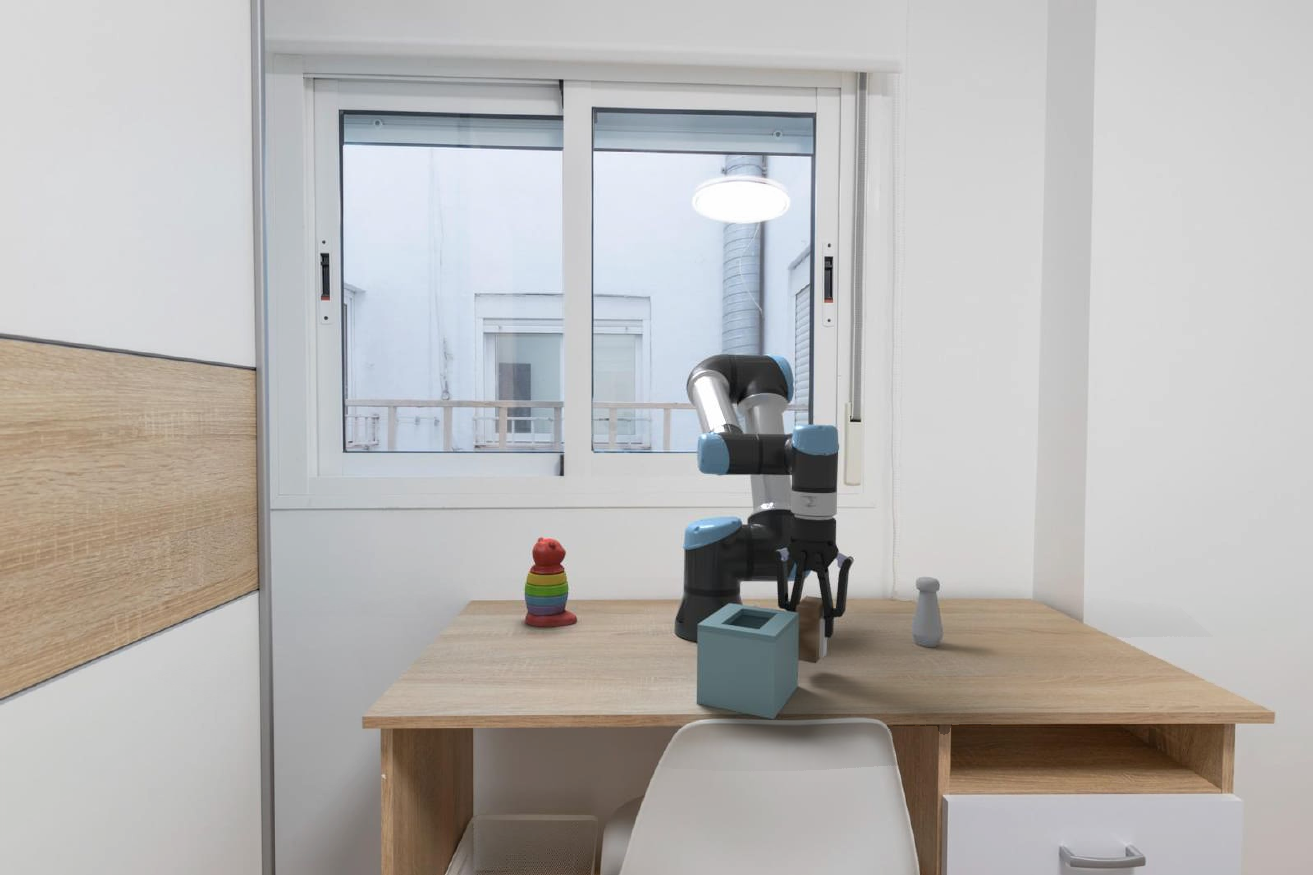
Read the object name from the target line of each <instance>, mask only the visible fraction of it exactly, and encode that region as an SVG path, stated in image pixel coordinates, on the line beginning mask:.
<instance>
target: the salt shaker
mask: <svg viewBox="0 0 1313 875" xmlns="http://www.w3.org/2000/svg"><path fill="white" fill-rule="evenodd" d="M940 584H941V583H940V581H939V580H938V579H937V578H935V577H930V576H921V577H918V578H917V579H916V581H915V587H916V590H918V591H919V592H918V597H917V601H916V606H915V610H914V614H913V618H912V619H913V620H912V624H911V628H910V631H911V634H912V637H913V638H914V642H915V644H916V645H917V646H921V647H925V648H936V647H938V646H939V645H940V643H941V640H942V639H943V636H944V631H943V630H944V629H943V624H942V619H941V613H940V608H939V607H940V606H939V600H938V595H937V594H938V593H937V592H939V591H940V588H941V587H940V586H941V585H940Z"/></svg>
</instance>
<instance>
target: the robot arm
mask: <svg viewBox="0 0 1313 875" xmlns="http://www.w3.org/2000/svg"><path fill="white" fill-rule="evenodd" d="M794 383H795V381H794V374H793V371H792V367H791V364H790V362H789V361H788V360H787V359H786V358H785V357H784V356H781V355H773V354H768V353H766V354H762V355H761V354H760V355H758V354H728V353H722V354H721V353H720V354H716V355H711V356H710V357H707V358H705V359H704V360H702V361H701V362H699V363H698V364H696V366H695V367H694V368H693V369H692V370H691V372H690V373H689V375H688V378H687V380H686V385H685V386H686V394H687V397H688V400H689V402H690V404H692V405H693V406H694V407H695V410H696V414H697V417H698V421H699V424H700V428H701V431H702V434H700V435H699V437H698V439H697V450H696V452H697V453H696V460H697V468H698V471H700V473H702V474H705V475H716V476H718V477H719V476H750V487H751V488H750V489H751V498H752V508H753V510H752V512H751V513H750V515H749V516H748V517H747V522H746V523H747V524H743V521H742V520H741V518H740V517H737V516H716V517H709V518H708V517H707V518H703V519H699V520H695V521H692V522H690V523H689V524H688V525H687V526H686V527H685V530H684V540H683V546H682V548H683V551H684V552H683V556H684V558H683V562H684V563H683V594H682V598H681V600H680V604H679V606H678V609H677V612H676V616H675V619H674V634H676V635H677V636H679V637H680V638H682V639H684V640H688V641H691V642H696V643H697V635H698V624H699V623H701V622H702V621H703V620H705V619H706V618H708V617H709V616H711V615H712V614H714V613H715V612H717V611H718V610H720V609H721V608H723V607H724V606H726V605H727V604H729V603H731V604H739V605H744V604H743V600H742V598H741V582H769V583H770V582H776V583H777V584H776V587H777V588H776V589H777V607H778V608H779V609H780V610H784V611H791V612H796V606H797V605H798V604H799V603H800V602H801V598H802V594H803V590H804V585H805V580H806V579H807V578H808V577H809V576H810V574H811V572H813V573H816V577H817V579H818V584H819V591H820V598H822V605H823V611H824V615H823V616H822V617H821V618H820V632H819V659H824V658H825V656H826V655H827V653H828V638H829V639H831V638H832V636H833V635H834V621H835V620H834V619H835V618H841V617H843V615H844V614H845V612H846V608H847V597H848V586H849V573H850V569H851V568H852V565H853V564H854V561H855V560H854V557H853V556H852V555H851V556H847V555H845V554H843V553H841V552H840V550H839V547H838V546H837V545H838V544H837V541H836V540H837V520H836V518H835V517H834V516H836V515H837V513H838V510H837V507H838V471H839V469H838V467H839V466H838V465H839V451H840V444H839V432H838V431H839V430H838V428H837V427H836V426H834V425H833V424H832V425H831V424H828V425H826V424H796V425H795V426H794V427H793V430H792V433H785V426H784V417H783V413H785V412H786V410H787V409H788V405H789V404H791V403H792V401H793V397H794V393H795V392H794V391H795V387H794ZM734 404H735V405H736V409H737V413H738V414H739V415H740V416H741V417H743V418H744V423H745V424H744V425H745V433H744V431H743V429H742V426H741V422H740V421H739V418H738V416H737V413H736V411H735V408H734V406H733V405H734ZM835 560H836V561H837V567H838V568H839V571H838V577H837V591H836V598H835V599H836V600H835V607H834V601H833V594H832V588H831V583H830V582H831V581H830V572H829V567H830V566H831V564H832V563H833V562H834V561H835ZM789 582H793V584H792V590H791V594H790V599H789ZM789 600H790V601H789Z"/></svg>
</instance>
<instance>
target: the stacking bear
mask: <svg viewBox="0 0 1313 875" xmlns="http://www.w3.org/2000/svg"><path fill="white" fill-rule="evenodd" d="M531 553H532V559H533V562H534V564H533V565H532V566H531V568H530V569H529V571H528V573H527V576H526V581H525V582H524V583H525V584H524V601H525V606H526V609H527V612H526V615H525V617H524V618H525V620H524V621H525V623H526V624H528V625H531V626H533V627H560V626H561V627H562V626H568V625H572V624H576V622H577V621H578V616H577V615H576V614H575V613H572V612H571V611H568V610H566V606H567V601H568V597H569V581H568V577H567V573H566V571H565V567H564V566H563V564H561V563H562V562H563V561H564V560H565V558H566V554H567V552H566V550H565V548H563V545H561V543H560V542H559V541H558V540H557V539H554V538H544V537H543V536H540V537H539V538H537V542H536V543H534V546H533V548H532V552H531Z"/></svg>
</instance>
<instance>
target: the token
mask: <svg viewBox="0 0 1313 875" xmlns="http://www.w3.org/2000/svg"><path fill="white" fill-rule="evenodd" d="M796 612H798V613H799V645H798V661H801V662H805V663H811V664H817V662H818V661H819V660H820V658H819V632H820V618H821V617H822V616H823V615H824V611H823V605H822V598H821V597H817V596H810V595H806V596H805V597H804V598H802V600H800V603H799V604H798V605H797V606H796Z"/></svg>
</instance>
